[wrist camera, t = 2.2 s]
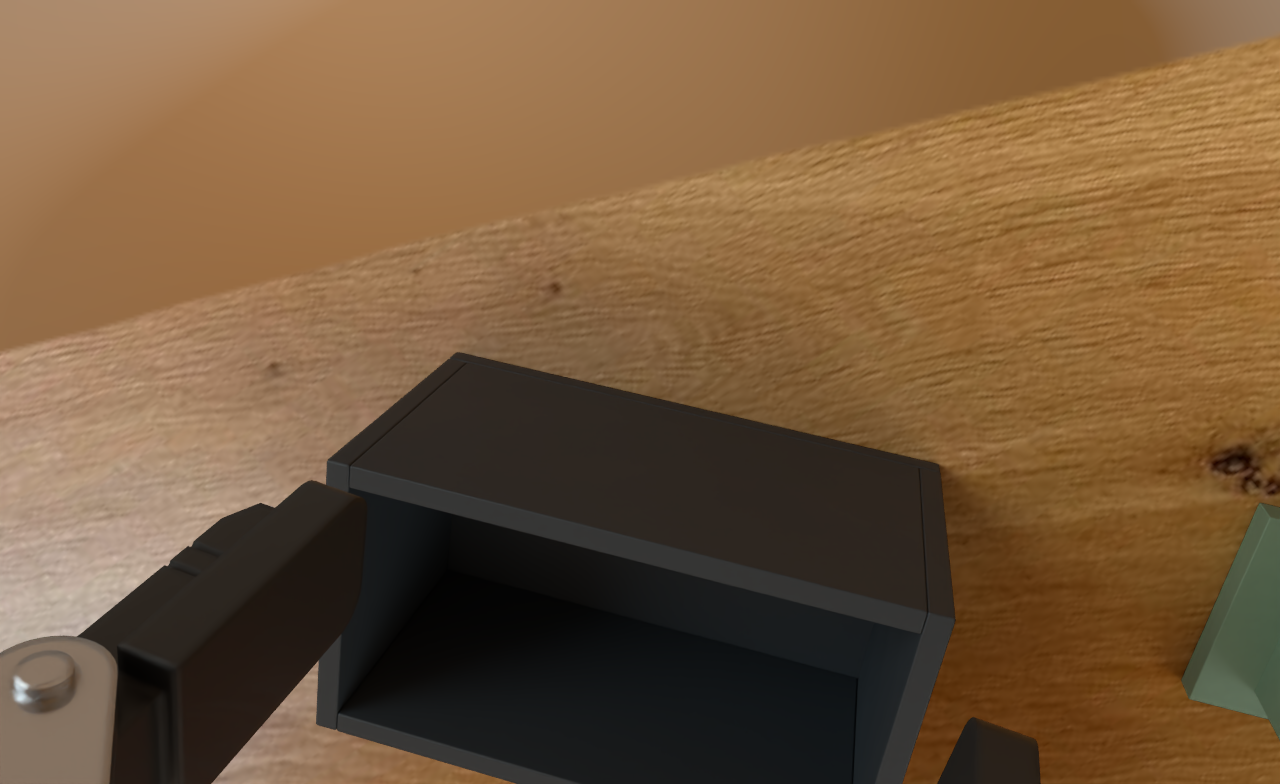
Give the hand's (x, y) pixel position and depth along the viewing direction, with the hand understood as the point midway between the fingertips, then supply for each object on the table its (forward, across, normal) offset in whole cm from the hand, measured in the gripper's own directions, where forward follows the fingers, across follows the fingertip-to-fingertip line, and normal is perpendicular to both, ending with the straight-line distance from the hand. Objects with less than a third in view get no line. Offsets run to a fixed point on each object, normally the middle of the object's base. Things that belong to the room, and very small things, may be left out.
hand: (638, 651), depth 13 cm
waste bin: (+25, +3, +16) cm, 30 cm away
